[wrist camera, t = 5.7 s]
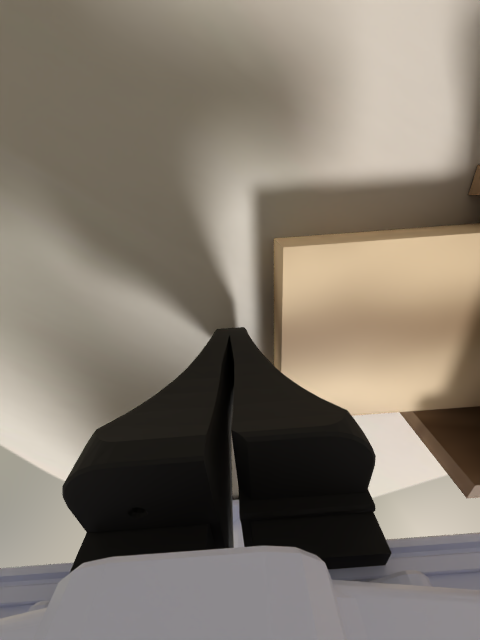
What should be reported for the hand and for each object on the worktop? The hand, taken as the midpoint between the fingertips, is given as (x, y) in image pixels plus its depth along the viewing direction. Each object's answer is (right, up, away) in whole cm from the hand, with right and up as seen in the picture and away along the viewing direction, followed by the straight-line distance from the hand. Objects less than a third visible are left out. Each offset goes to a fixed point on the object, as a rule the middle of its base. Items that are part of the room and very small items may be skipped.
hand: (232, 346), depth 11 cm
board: (+9, +2, +1) cm, 9 cm away
